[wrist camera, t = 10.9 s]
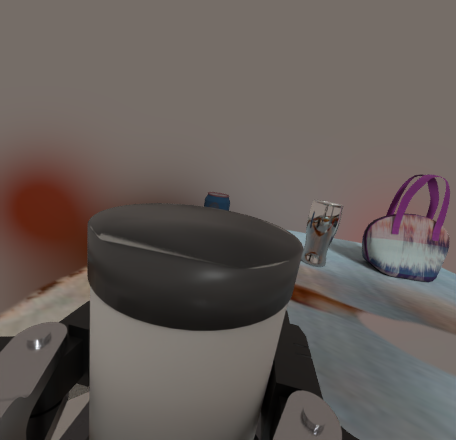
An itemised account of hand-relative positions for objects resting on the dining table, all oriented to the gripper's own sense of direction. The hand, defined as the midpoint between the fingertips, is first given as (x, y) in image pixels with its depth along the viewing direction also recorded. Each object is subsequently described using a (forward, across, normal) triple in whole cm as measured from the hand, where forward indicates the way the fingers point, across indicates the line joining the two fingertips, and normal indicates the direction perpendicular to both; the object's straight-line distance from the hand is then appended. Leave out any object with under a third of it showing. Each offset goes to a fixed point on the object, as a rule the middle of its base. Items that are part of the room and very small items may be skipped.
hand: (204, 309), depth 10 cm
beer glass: (+44, -18, +12) cm, 49 cm away
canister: (-3, 0, +7) cm, 8 cm away
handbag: (+49, -40, +12) cm, 65 cm away
